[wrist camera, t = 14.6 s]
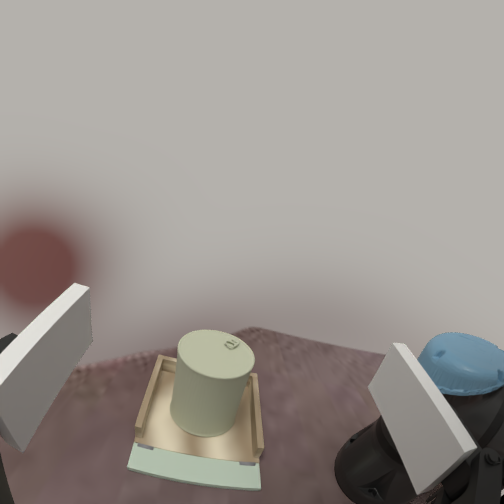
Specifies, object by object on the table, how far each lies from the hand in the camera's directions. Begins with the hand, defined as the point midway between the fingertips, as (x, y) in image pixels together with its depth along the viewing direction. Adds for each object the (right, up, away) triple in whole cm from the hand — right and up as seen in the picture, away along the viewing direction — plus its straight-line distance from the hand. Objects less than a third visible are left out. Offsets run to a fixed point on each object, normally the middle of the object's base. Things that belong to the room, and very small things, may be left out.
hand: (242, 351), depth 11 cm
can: (-6, -18, +24) cm, 31 cm away
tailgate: (-6, -22, +16) cm, 28 cm away
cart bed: (-7, -19, +25) cm, 32 cm away
